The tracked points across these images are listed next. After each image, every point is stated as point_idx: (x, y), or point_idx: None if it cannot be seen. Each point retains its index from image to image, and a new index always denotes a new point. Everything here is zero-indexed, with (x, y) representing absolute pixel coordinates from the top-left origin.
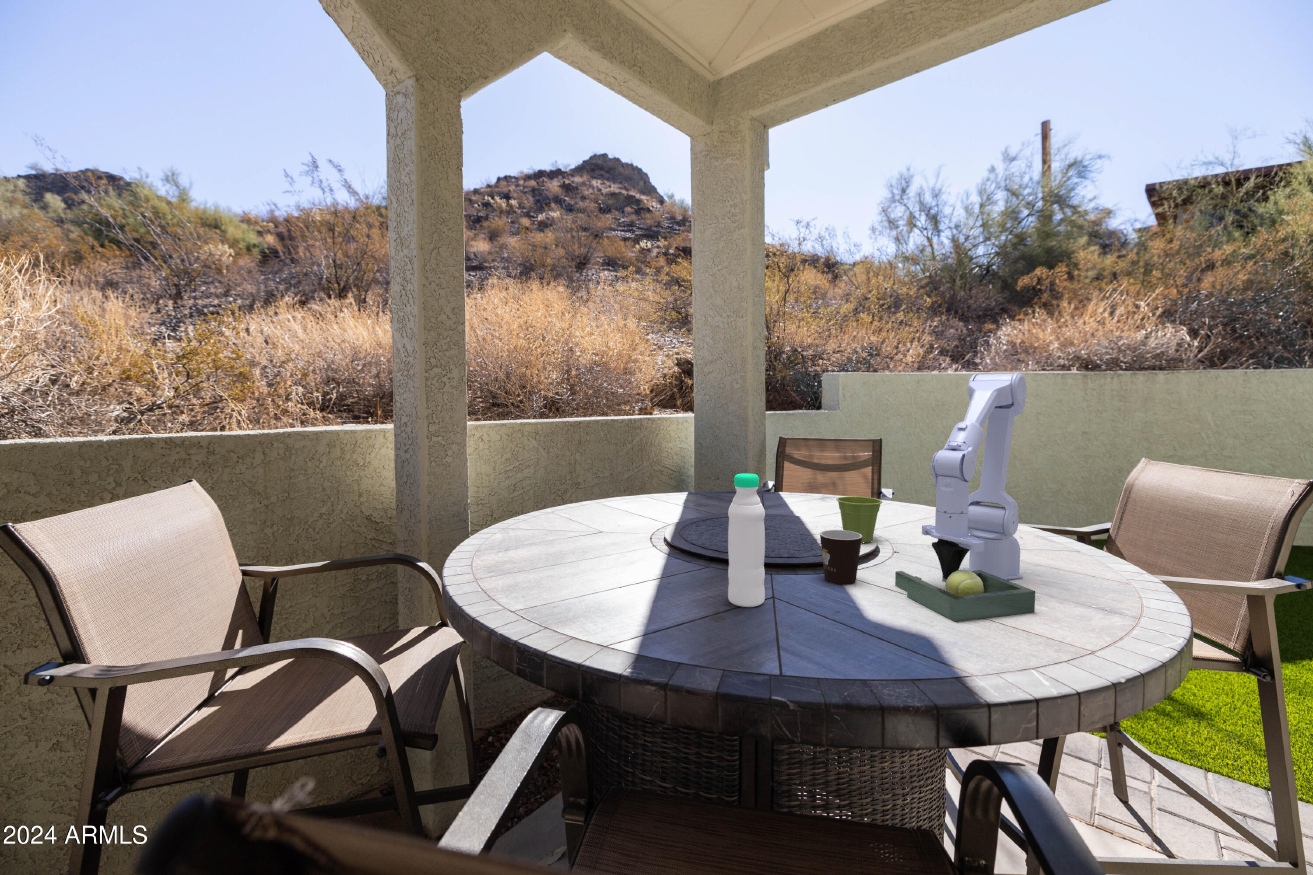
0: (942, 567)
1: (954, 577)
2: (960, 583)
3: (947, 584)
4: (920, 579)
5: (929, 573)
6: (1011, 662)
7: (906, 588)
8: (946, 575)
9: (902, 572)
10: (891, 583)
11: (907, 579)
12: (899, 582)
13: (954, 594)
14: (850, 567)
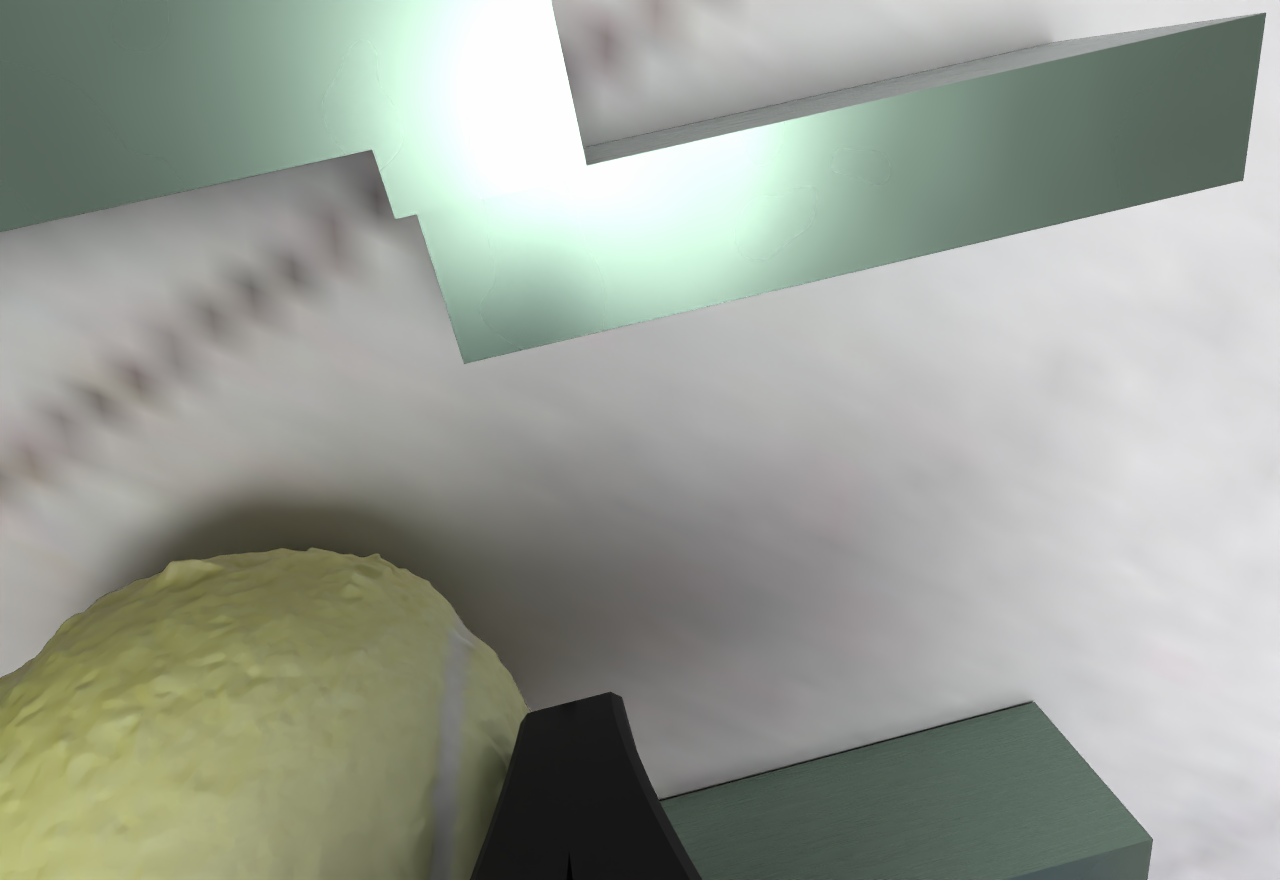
0: (611, 844)
1: (69, 844)
2: None
3: (234, 629)
4: (308, 151)
5: (1268, 668)
6: None
7: (802, 101)
8: (517, 761)
9: (1157, 145)
10: None
11: (845, 103)
12: (1003, 57)
13: (103, 597)
14: None
